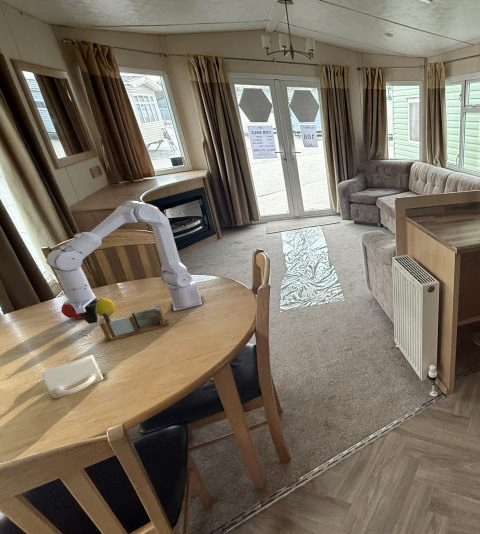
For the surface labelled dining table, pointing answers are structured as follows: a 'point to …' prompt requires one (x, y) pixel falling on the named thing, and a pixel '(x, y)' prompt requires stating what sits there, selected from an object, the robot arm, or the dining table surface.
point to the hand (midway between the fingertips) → (93, 322)
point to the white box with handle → (72, 376)
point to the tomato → (69, 311)
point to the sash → (120, 325)
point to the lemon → (105, 306)
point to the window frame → (139, 323)
